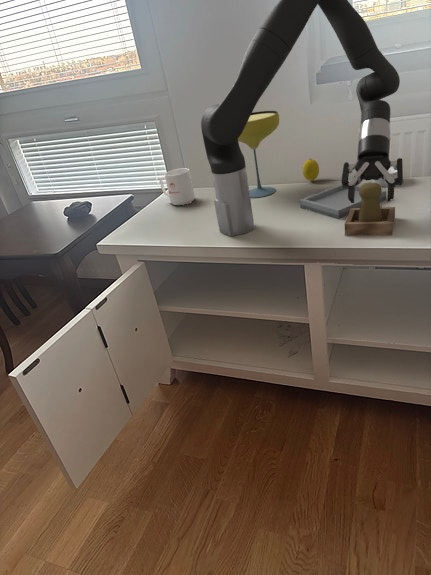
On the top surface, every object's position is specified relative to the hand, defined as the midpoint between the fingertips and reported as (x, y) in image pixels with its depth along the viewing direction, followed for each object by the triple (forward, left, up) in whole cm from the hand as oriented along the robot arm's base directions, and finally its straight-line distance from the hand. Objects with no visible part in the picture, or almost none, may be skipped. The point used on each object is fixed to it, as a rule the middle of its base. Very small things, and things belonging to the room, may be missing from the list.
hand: (370, 201), depth 106 cm
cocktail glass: (+1, +50, -7) cm, 50 cm away
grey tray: (+8, +18, -7) cm, 21 cm away
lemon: (+18, +43, -7) cm, 47 cm away
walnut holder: (0, 0, -7) cm, 7 cm away
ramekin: (+28, +20, -7) cm, 35 cm away
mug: (-22, +69, -7) cm, 72 cm away
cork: (0, 0, -7) cm, 7 cm away
